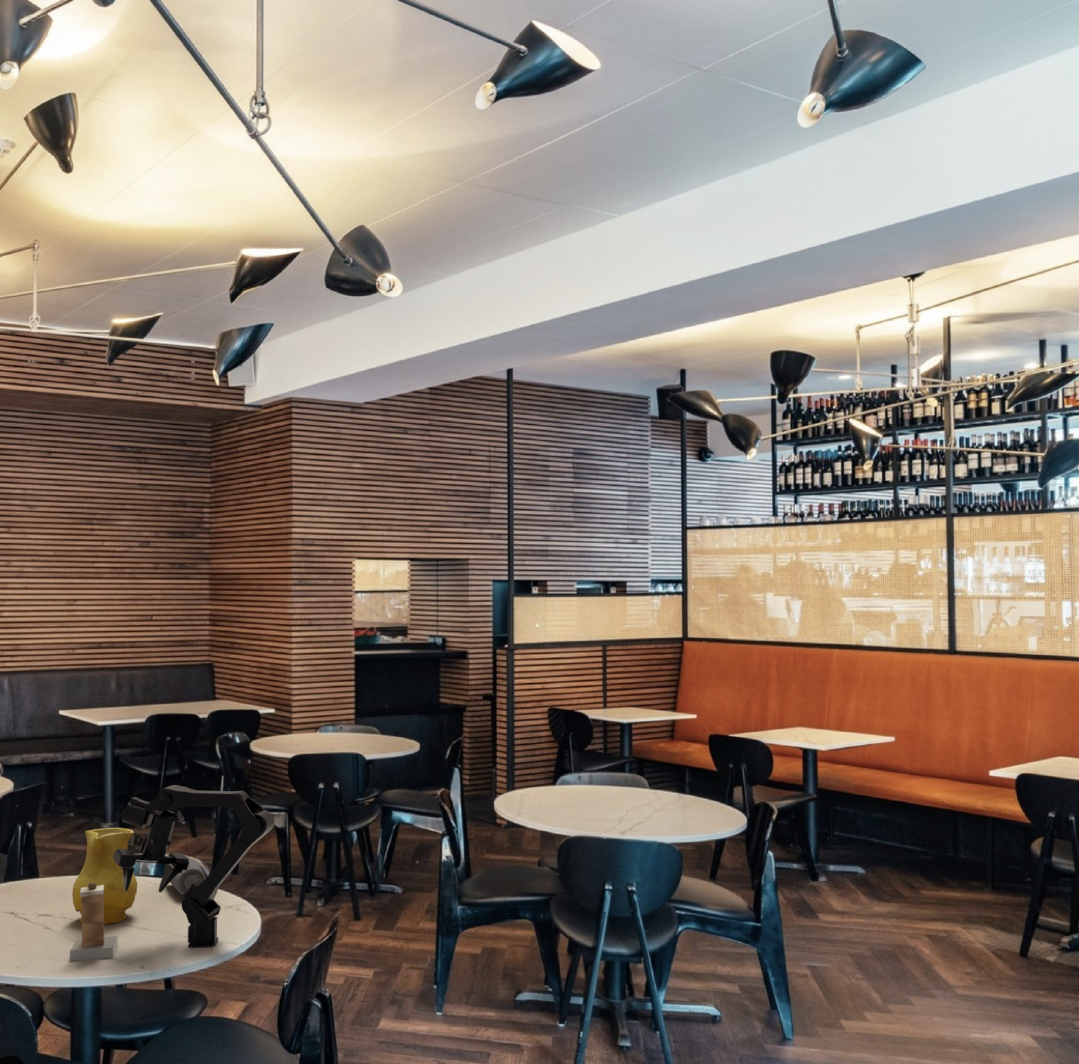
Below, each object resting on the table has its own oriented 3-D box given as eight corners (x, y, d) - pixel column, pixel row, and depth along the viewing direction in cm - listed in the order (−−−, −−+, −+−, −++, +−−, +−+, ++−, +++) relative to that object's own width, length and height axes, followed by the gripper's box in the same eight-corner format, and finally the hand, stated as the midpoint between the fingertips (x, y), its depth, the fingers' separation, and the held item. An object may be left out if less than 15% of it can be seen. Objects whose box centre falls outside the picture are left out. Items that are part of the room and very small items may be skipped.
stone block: (117, 947, 285) (117, 935, 285) (112, 959, 275) (112, 947, 275) (76, 950, 282) (76, 938, 283) (69, 962, 273) (69, 950, 273)
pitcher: (55, 921, 305) (63, 830, 308) (109, 908, 322) (116, 822, 324) (98, 931, 297) (106, 838, 300) (151, 918, 314) (158, 829, 316)
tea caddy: (105, 938, 282) (103, 878, 283) (104, 944, 277) (103, 883, 278) (82, 941, 280) (81, 880, 281) (81, 947, 275) (80, 885, 276)
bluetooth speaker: (162, 885, 346) (162, 853, 347) (192, 882, 351) (193, 850, 351) (175, 902, 326) (175, 868, 327) (207, 898, 331) (208, 864, 331)
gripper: (183, 825, 301) (166, 880, 301) (115, 820, 290) (98, 877, 289) (197, 840, 293) (180, 897, 292) (128, 834, 281) (110, 894, 281)
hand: (142, 891), depth 289 cm, fingers open, 9 cm apart
